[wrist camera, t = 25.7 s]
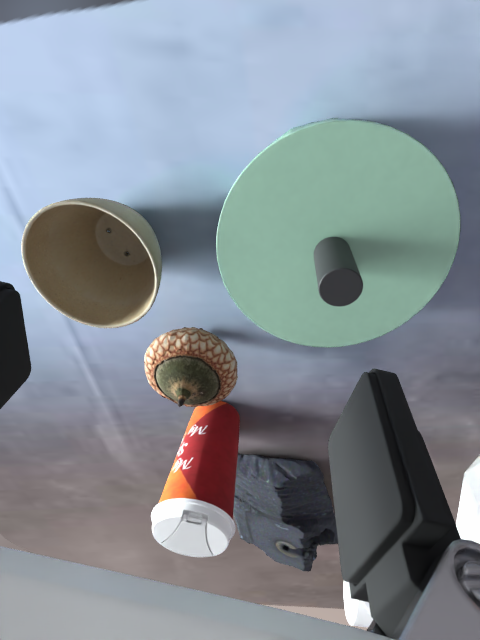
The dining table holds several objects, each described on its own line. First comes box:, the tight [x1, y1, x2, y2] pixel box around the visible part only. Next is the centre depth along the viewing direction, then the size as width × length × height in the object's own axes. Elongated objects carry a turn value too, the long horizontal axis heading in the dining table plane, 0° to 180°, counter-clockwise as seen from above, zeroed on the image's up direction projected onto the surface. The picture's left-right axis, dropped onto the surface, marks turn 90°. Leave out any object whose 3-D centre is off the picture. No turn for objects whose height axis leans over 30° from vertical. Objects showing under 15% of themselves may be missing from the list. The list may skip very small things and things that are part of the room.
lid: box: [216, 119, 460, 347], centre depth 23 cm, size 16×16×6 cm
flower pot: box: [21, 198, 162, 328], centre depth 29 cm, size 10×10×7 cm
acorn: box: [144, 327, 238, 407], centre depth 33 cm, size 8×8×10 cm
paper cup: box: [151, 401, 240, 557], centre depth 38 cm, size 8×8×14 cm
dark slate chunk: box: [233, 454, 338, 571], centre depth 49 cm, size 15×22×5 cm
